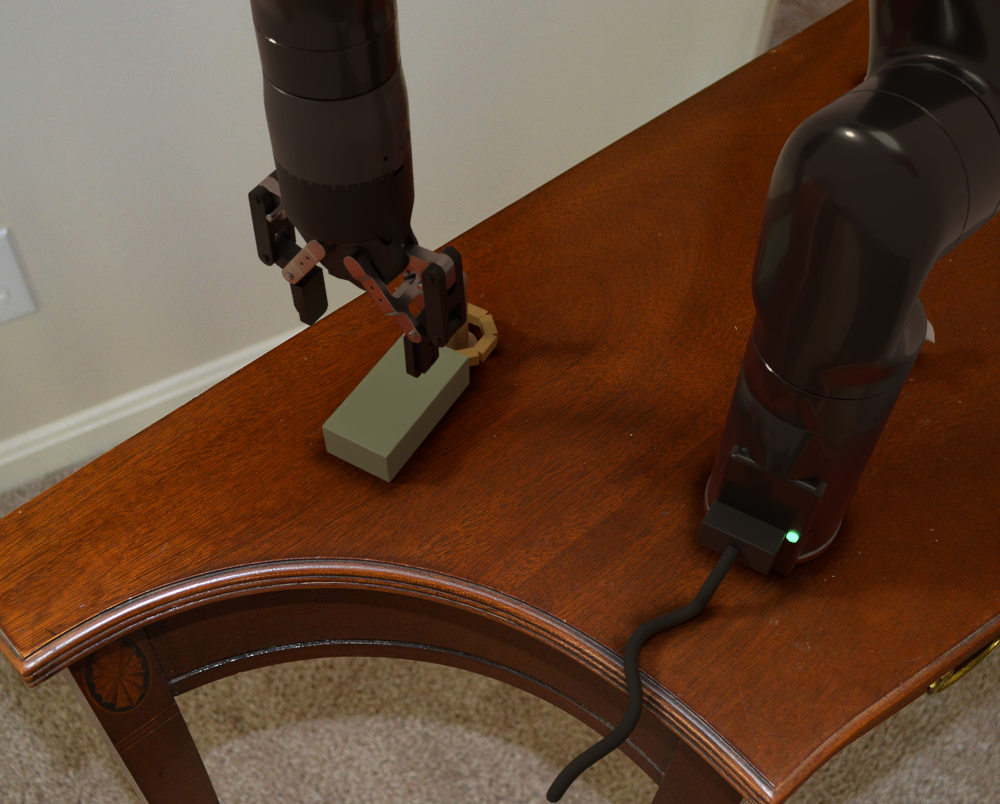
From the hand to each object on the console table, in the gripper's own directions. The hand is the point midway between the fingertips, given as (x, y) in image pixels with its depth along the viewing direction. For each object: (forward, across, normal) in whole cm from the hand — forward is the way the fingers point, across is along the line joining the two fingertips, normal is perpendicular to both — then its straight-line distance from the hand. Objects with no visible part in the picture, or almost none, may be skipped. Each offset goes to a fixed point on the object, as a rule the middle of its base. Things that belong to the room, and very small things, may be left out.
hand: (367, 342), depth 72 cm
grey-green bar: (+10, 0, +5) cm, 11 cm away
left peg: (+10, 0, +10) cm, 14 cm away
